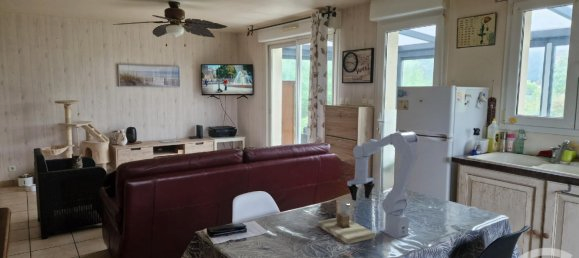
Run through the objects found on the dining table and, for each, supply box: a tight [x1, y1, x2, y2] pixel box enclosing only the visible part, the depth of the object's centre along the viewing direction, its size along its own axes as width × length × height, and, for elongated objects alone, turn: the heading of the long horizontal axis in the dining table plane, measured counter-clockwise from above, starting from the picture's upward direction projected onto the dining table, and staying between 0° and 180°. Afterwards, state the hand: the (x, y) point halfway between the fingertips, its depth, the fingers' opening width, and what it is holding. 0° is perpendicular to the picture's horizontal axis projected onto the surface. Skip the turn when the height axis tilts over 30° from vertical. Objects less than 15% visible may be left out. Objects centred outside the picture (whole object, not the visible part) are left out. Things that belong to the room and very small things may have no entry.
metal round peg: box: [338, 201, 351, 220], centre depth 177 cm, size 5×5×7 cm
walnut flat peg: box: [336, 212, 350, 229], centre depth 162 cm, size 5×3×7 cm, turn 28°
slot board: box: [317, 217, 376, 245], centre depth 160 cm, size 22×14×2 cm, turn 28°
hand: (360, 199), depth 176 cm, fingers open, 7 cm apart
